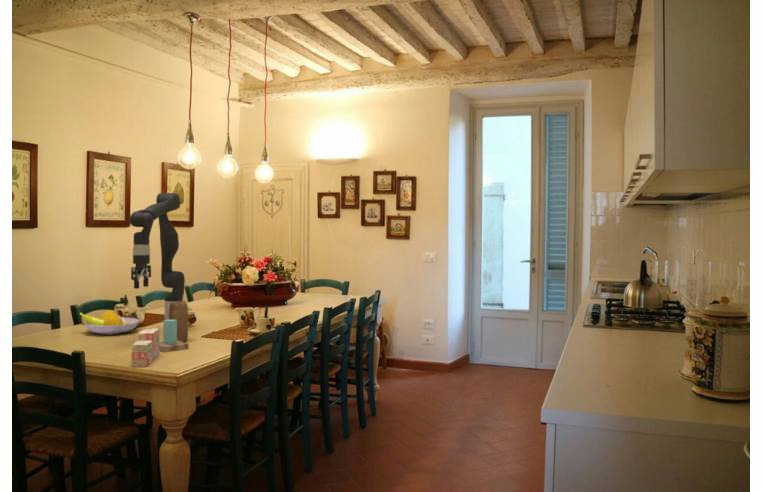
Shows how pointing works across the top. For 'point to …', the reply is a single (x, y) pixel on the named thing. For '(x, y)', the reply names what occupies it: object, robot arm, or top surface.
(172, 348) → the slab
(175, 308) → the block
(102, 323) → the fruit bowl
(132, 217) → the robot arm
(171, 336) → the post
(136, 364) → the stack of blocks
